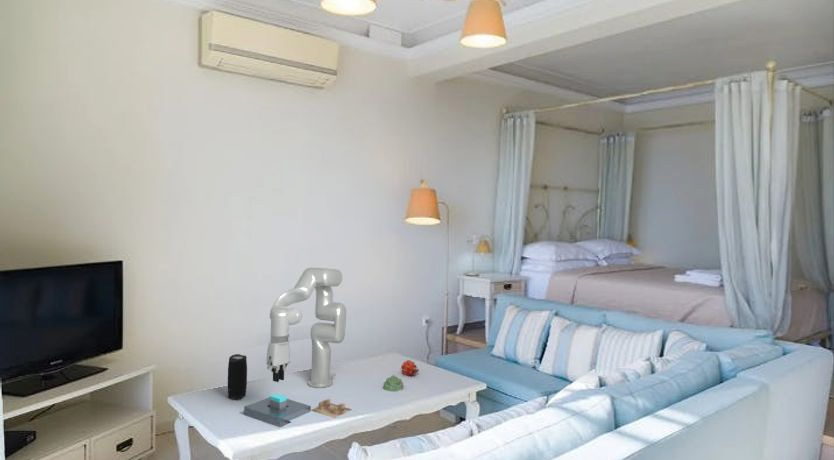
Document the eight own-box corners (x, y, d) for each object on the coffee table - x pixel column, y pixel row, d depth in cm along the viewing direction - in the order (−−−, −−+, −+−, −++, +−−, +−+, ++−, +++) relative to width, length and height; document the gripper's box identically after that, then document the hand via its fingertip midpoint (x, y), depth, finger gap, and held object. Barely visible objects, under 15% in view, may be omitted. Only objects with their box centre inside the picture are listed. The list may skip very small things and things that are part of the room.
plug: (276, 411, 242) (276, 393, 242) (286, 414, 239) (286, 396, 238) (269, 414, 239) (269, 396, 238) (279, 417, 235) (279, 399, 235)
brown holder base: (328, 404, 252) (328, 396, 252) (352, 411, 245) (352, 402, 244) (310, 412, 242) (310, 403, 242) (334, 420, 234) (334, 411, 234)
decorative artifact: (394, 383, 285) (379, 387, 278) (394, 370, 285) (379, 374, 278) (407, 388, 278) (392, 393, 271) (407, 375, 277) (393, 379, 270)
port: (275, 402, 252) (275, 395, 252) (310, 413, 240) (310, 406, 240) (244, 414, 237) (244, 406, 237) (280, 427, 225) (280, 418, 225)
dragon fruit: (404, 374, 306) (414, 383, 296) (394, 366, 302) (404, 376, 292) (414, 361, 307) (424, 370, 297) (404, 354, 303) (413, 363, 293)
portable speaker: (230, 401, 251) (230, 360, 250) (225, 395, 259) (226, 354, 258) (248, 398, 255) (249, 357, 254) (243, 392, 263) (244, 352, 262)
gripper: (286, 334, 246) (285, 374, 247) (259, 340, 232) (258, 383, 233) (298, 336, 242) (297, 377, 243) (271, 343, 228) (270, 387, 229)
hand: (278, 380), depth 238 cm, fingers closed
